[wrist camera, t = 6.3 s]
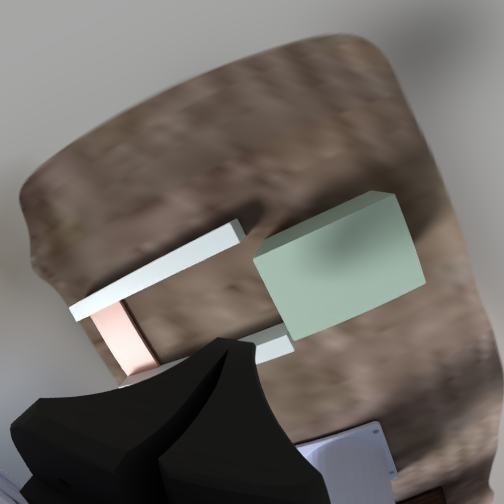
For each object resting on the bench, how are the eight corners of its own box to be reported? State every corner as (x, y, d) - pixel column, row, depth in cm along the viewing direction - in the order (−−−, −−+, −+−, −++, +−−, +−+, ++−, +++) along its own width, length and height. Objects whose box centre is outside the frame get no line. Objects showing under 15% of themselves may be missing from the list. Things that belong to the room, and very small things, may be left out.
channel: (295, 335, 20) (294, 351, 18) (137, 385, 23) (126, 399, 21) (237, 218, 19) (229, 222, 17) (83, 298, 22) (68, 307, 20)
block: (397, 257, 18) (425, 283, 13) (296, 302, 20) (293, 341, 15) (370, 190, 17) (394, 194, 12) (265, 238, 19) (252, 259, 14)
